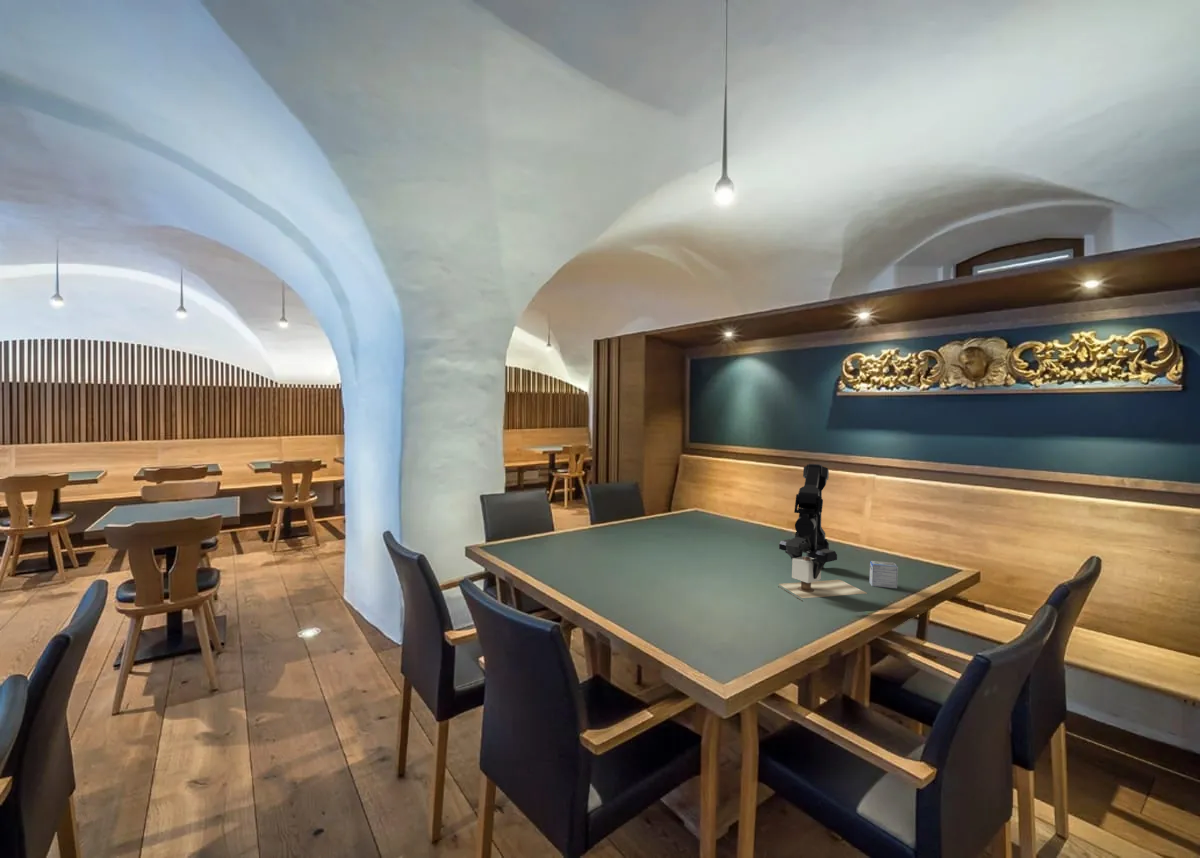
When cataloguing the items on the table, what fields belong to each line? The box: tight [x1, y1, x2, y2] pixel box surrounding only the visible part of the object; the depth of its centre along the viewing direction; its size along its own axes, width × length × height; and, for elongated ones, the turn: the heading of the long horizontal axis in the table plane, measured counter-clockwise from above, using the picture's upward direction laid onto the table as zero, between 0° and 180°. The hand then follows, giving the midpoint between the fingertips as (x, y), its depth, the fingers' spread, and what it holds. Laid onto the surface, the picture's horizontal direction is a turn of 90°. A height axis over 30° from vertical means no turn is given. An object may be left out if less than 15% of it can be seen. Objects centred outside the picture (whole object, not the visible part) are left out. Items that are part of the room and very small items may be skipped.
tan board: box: [777, 579, 867, 602], centre depth 182 cm, size 14×24×4 cm, turn 103°
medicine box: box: [868, 560, 899, 589], centre depth 186 cm, size 8×4×9 cm, turn 74°
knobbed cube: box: [791, 555, 822, 583], centre depth 181 cm, size 6×6×7 cm
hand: (806, 575), depth 181 cm, fingers closed on knobbed cube, 6 cm apart
